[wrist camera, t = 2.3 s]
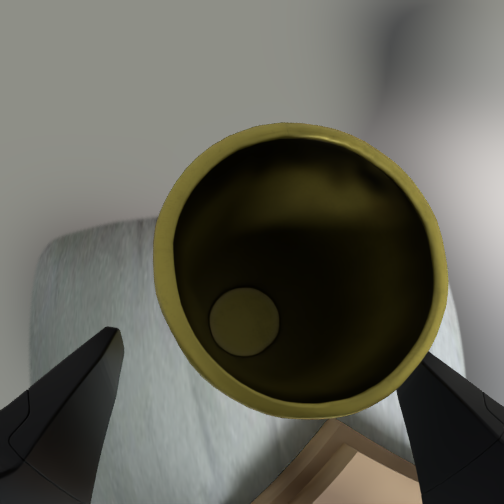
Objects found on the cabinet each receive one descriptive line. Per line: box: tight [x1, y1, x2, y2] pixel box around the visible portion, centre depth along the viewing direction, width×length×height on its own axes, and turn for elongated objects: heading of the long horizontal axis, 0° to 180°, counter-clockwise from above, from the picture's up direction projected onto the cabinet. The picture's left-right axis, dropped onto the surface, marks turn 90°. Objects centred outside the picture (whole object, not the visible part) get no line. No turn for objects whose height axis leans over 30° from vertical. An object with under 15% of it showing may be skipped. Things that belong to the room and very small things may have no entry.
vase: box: [153, 123, 448, 420], centre depth 11 cm, size 6×6×14 cm
